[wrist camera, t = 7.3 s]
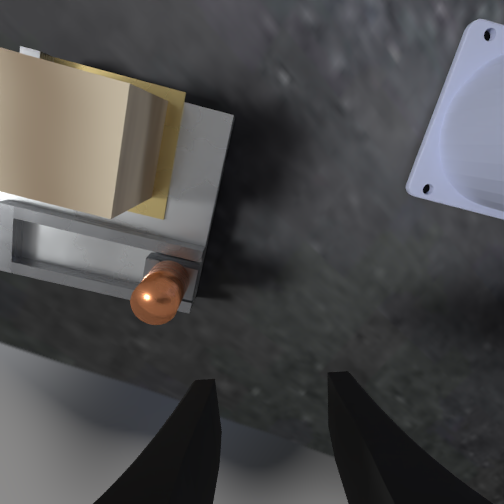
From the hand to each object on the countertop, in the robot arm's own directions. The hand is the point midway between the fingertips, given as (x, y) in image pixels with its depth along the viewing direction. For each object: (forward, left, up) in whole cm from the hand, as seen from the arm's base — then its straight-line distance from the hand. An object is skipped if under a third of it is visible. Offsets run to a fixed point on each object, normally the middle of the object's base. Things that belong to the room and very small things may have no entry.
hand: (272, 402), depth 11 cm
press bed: (+10, -3, -9) cm, 14 cm away
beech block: (+9, -6, -8) cm, 13 cm away
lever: (+5, 0, -8) cm, 9 cm away
